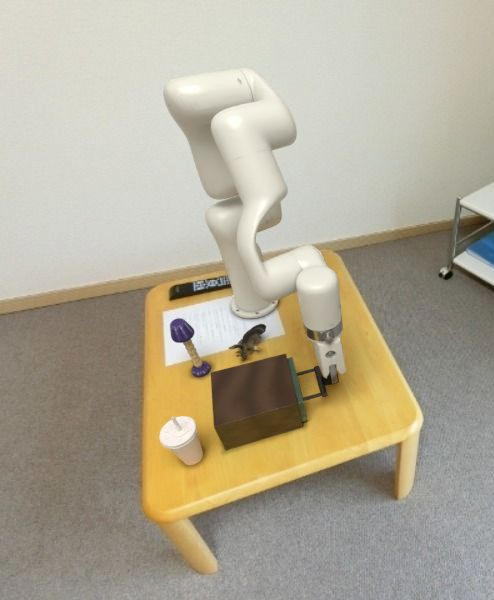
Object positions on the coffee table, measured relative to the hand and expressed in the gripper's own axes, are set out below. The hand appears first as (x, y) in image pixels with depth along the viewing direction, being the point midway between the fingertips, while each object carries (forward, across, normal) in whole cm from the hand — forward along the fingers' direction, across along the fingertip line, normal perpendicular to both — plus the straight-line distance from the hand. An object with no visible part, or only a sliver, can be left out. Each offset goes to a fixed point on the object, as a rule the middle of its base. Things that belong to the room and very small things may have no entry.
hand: (331, 381), depth 95 cm
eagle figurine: (+4, +19, +16) cm, 25 cm away
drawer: (+3, 0, +12) cm, 12 cm away
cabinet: (+4, 0, +16) cm, 16 cm away
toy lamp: (+4, +16, +28) cm, 32 cm away
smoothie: (+4, -6, +30) cm, 31 cm away
